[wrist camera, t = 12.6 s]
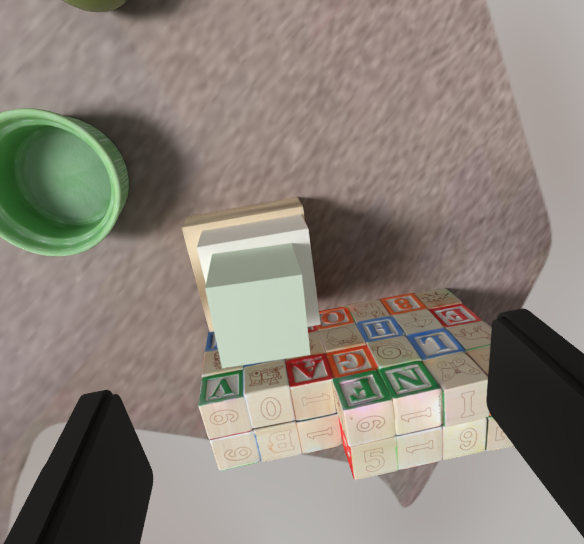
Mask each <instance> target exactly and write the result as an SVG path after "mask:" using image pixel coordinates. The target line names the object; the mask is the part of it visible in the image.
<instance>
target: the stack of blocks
mask: <svg viewBox="0 0 584 544" xmlns="http://www.w3.org/2000/svg"><path fill="white" fill-rule="evenodd" d="M319 316H320V325H315V326H309V327H307V328H308V337H309V347H310V355H306V356H299V357H293V358H286V359H280V360H273V361H267V362H260V363H254V364H247V365H241V366H234V367H227V368H222V366H221V361H220V356H219V352H218V347H217V342H216V337H215V333H214V332H208V336H207V343H206V349H205V354H204V361H203V368H202V381H201V389H200V398H199V409H200V412H201V415H202V419H203V422H204V425H205V428H206V432H207V435H208V438H209V439H210V442H211V446H212V449H213V452H214V456H215V458H216V462H217V465H218V468H219V470H221V471H222V470H227V469H230V468H235V467H240V466H244V465H249V464H254V463H257V462H259V461H261V462H267V461H271V460H276V459H281V458H285V457H290V456H295V455H299V454H301V453H310V452H314V451H319V450H323V449H327V448H331V447H336V446H338V445H340V444H342V443H343V446H344V450H345V453H346V456H347V459H348V462H349V465H350V468H351V472H352V475H353V478H354V479H355V480H357V479H362V478H366V477H371V476H376V475H380V474H385V473H389V472H393V471H397V470H398V469H406V468H411V467H415V466H419V465H423V464H429V463H433V462H437V461H439V460H446V459H451V458H456V457H460V456H465V455H469V454H474V453H479V452H483V451H484V450H487V451H491V450H496V449H501V448H505V447H510V446H514V445H513V444H512V442H511V441H510V440H509V438H508V437H507V436H506V434H505V433H504V432H503V430H502V429H501V428H500V427H499V425H498V424H497V423H496V421H495V420H494V419H493V417H492V416H491V414H490V412H489V410H488V408H487V403H486V397H487V383H488V370H489V357H490V344H491V331H492V327H490V326H489V325H488V324H487V323H486V322H483V321H482V320H481V319H480V318H479V317H478V316H477V315H476V314H474V313H473V312H472V311H471V310H470V309H469V308H467V307H466V306H465V305H463V304H462V302H461V301H460V300H459V299H458V298H457V297H456V296H455V295H453V294H452V293H451V292H450V291H448V290H447V289H446V288H443V289H438V290H432V291H426V292H421V293H415V294H413V293H410V294H405V295H399V296H394V297H388V298H383V299H377V300H371V301H365V302H360V303H355V304H349V305H347V306H345V307H339V308H335V309H329V310H324V311H319Z"/></svg>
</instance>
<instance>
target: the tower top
mask: <svg viewBox="0 0 584 544" xmlns="http://www.w3.org/2000/svg"><path fill="white" fill-rule="evenodd" d="M289 243H292V246H293V249H294V252H295V255H296V258H297V261H298V264H299V267H300V270H301V273H302V280H303V289H304V299H305V309H306V318H307V327H309V326H315V325H320V316H319V308H318V300H317V293H316V285H315V277H314V269H313V261H312V254H311V246H310V238H309V230H308V227H307V225H306V223H305V221H304V219H303V217H302V216H301V214H299V215H293V216H287V217H281V218H275V219H269V220H263V221H257V222H251V223H245V224H239V225H233V226H227V227H221V228H215V229H209V230H203V231H201V235H200V238H199V241H198V244H197V251H198V255H199V259H200V263H201V267H202V271H203V275H204V279H205V283H206V281H207V276H208V271H209V266H210V261H211V256H212V254H215V253H223V252H230V251H237V250H245V249H252V248H259V247H267V246H274V245H281V244H289Z"/></svg>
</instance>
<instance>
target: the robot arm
mask: <svg viewBox="0 0 584 544" xmlns="http://www.w3.org/2000/svg"><path fill="white" fill-rule="evenodd" d="M486 403H487V408H488V410H489V412H490V414H491V416H492V417H493V419H494V420H495V421H496V423H497V424H498V425H499V427H500V428H501V429H502V430H503V432H504V433H505V434H506V436H507V437H508V438H509V440H510V441H511V442H512V444H513V445H514V446H515V448H516V449H517V450H518V452H519V453H520V454H521V456H522V457H523V458H524V460H525V461H526V462H527V463H528V465H529V466H530V468H531V469H532V470H533V471H534V473H535V474H536V475H537V477H538V478H539V479H540V481H541V482H542V483H543V485H544V486H545V487H546V488H547V490H548V491H549V493H550V494H551V495H552V496H553V498H554V499H555V501H556V502H557V503H558V505H559V506H560V507H561V509H562V510H563V511H564V512H565V514H566V515H567V516H568V517H569V519H570V520H571V522H572V523H573V524H574V526H575V527H576V528H577V530H578V531H579V532H580V534H581V535H582V536H583V537H584V354H583V353H582V352H581V351H579V350H578V349H577V348H576V347H574V346H573V345H572V344H570V343H569V342H568V341H567V340H565V339H564V338H563V337H562V336H560V335H559V334H558V333H557V332H555V331H554V330H553V329H551V328H550V327H549V326H548V325H546V324H545V323H544V322H543V321H541V320H540V319H539V318H537V317H536V316H535V315H534V314H532V313H531V312H530V311H528V310H526V309H518V310H513V311H508V312H503V313H500V314H499V316H498V318H497V320H494V321H493V323H492V331H491V344H490V357H489V370H488V383H487V397H486ZM152 486H153V473H152V469H151V466H150V464H149V462H148V459H147V457H146V455H145V452H144V450H143V448H142V446H141V443H140V441H139V439H138V436H137V434H136V432H135V430H134V427H133V425H132V423H131V421H130V418H129V416H128V414H127V411H126V409H125V407H124V405H123V402H122V400H121V398H120V396H119V395H118V394H114V395H113V394H112V393H111V392H110V391H109V390H103V391H98V392H93V393H88V394H84V395H82V396H81V397H80V399H79V400H78V402H77V404H76V406H75V408H74V410H73V412H72V414H71V416H70V418H69V420H68V422H67V424H66V426H65V428H64V430H63V432H62V434H61V435H60V437H59V439H58V442H57V443H56V445H55V447H54V449H53V451H52V453H51V455H50V457H49V459H48V461H47V463H46V464H45V466H44V467H43V469H42V470H41V472H40V475H39V476H38V478H37V480H36V482H35V484H34V486H33V488H32V490H31V492H30V494H29V496H28V498H27V500H26V502H25V504H24V506H23V507H22V509H21V511H20V513H19V515H18V517H17V519H16V521H15V523H14V525H13V527H12V529H11V531H10V533H9V535H8V537H7V538H6V540H5V542H4V544H140V541H141V536H142V531H143V527H144V522H145V518H146V513H147V509H148V504H149V500H150V495H151V491H152Z"/></svg>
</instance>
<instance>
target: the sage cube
mask: <svg viewBox="0 0 584 544" xmlns="http://www.w3.org/2000/svg"><path fill="white" fill-rule="evenodd" d="M205 290H206V295H207V300H208V305H209V309H210V314H211V319H212V323H213V328H214V333H215V337H216V342H217V347H218V352H219V356H220V361H221V366H222V368H227V367H234V366H241V365H247V364H254V363H260V362H267V361H273V360H280V359H286V358H293V357H299V356H306V355H310V347H309V337H308V328H307V318H306V309H305V299H304V289H303V280H302V273H301V270H300V267H299V264H298V261H297V258H296V255H295V252H294V249H293V246H292V243H289V244H281V245H274V246H267V247H259V248H252V249H245V250H237V251H230V252H223V253H215V254H212V256H211V261H210V266H209V271H208V276H207V281H206V286H205Z"/></svg>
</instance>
